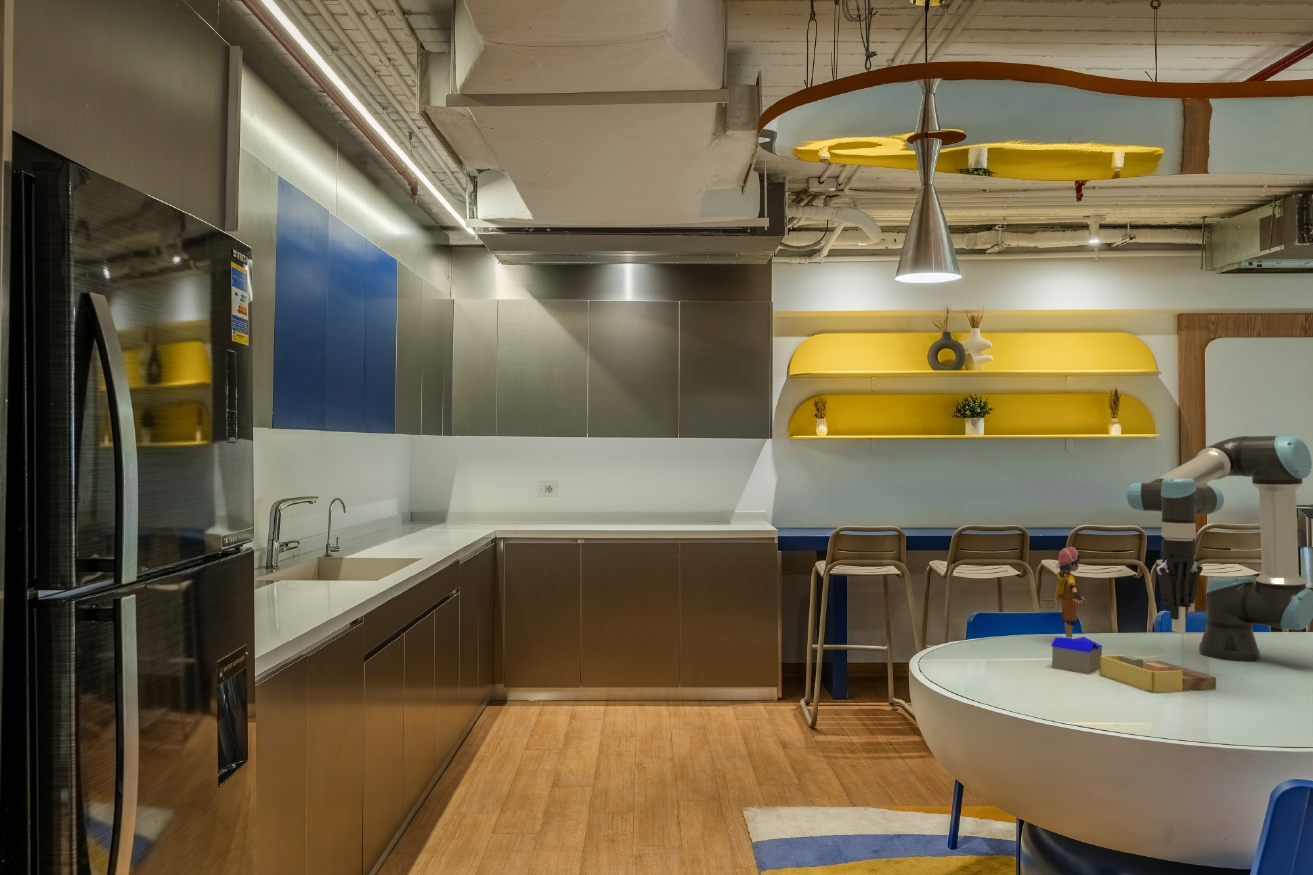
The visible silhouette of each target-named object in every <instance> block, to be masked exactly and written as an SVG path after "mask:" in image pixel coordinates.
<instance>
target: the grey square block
mask: <svg viewBox="0 0 1313 875" xmlns="http://www.w3.org/2000/svg"><path fill="white" fill-rule="evenodd" d="M1120 655H1121V656H1119V661H1120V662H1123V663H1126V664H1130V665H1133V666H1136V667H1139V668H1143V662H1144V659H1143V658H1141V657H1138V656H1137V657H1136V656H1133V655H1130V654H1120Z"/></svg>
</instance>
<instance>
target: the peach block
mask: <svg viewBox="0 0 1313 875" xmlns="http://www.w3.org/2000/svg"><path fill="white" fill-rule="evenodd" d="M1144 662H1145V663H1143V669H1146V670H1149V671H1152V672H1155V671H1169V667H1168V666H1164V665H1161V664H1158V663H1154V662H1146V661H1144Z"/></svg>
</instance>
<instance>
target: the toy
mask: <svg viewBox="0 0 1313 875" xmlns="http://www.w3.org/2000/svg"><path fill="white" fill-rule="evenodd" d="M1081 559H1082V556H1081V555H1080V554H1079V552H1078V550H1077V549H1076V547H1073V546H1072V547H1071V546H1070V547H1067V548H1066V547H1064V548H1062V549H1061V550H1060V552H1059V554H1058V556H1057V561H1058V563H1057V564H1055V565H1054V568H1055V569H1057V570H1058V569H1059V571H1057V572H1056V589H1055V592H1054V594H1053V596H1054V598H1055V600H1057V601H1060V606H1061V619H1062V620H1063V622H1064V630H1065V638H1070V639H1073V627H1074V626H1075V623H1076V622H1077V621H1078V618H1077V608H1078V605H1080V603H1081V604H1082V605H1083V601H1086V599H1085V598H1084V597H1083V596H1082V595H1081V594H1079V592H1080V591H1079V590H1080V589H1079V581H1078V580H1077V578H1076V576H1075V575H1074V574H1073V573H1072V572H1077V571H1078V570H1079V566H1080V564H1079V563H1080V560H1081Z"/></svg>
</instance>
